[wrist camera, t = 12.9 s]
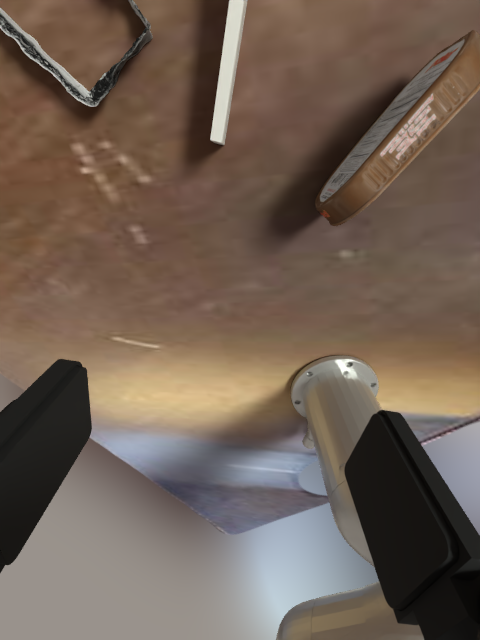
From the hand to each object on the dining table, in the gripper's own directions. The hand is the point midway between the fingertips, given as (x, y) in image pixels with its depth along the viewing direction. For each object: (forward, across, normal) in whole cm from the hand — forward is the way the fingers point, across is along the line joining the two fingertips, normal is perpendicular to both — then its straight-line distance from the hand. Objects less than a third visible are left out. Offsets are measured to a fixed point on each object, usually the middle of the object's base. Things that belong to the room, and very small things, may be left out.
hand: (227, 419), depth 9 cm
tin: (+25, -10, -12) cm, 30 cm away
